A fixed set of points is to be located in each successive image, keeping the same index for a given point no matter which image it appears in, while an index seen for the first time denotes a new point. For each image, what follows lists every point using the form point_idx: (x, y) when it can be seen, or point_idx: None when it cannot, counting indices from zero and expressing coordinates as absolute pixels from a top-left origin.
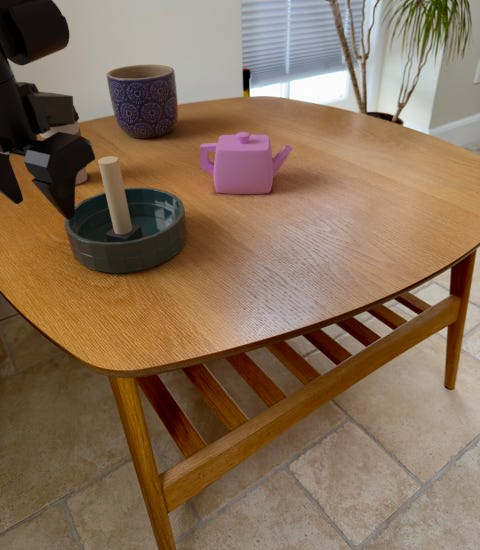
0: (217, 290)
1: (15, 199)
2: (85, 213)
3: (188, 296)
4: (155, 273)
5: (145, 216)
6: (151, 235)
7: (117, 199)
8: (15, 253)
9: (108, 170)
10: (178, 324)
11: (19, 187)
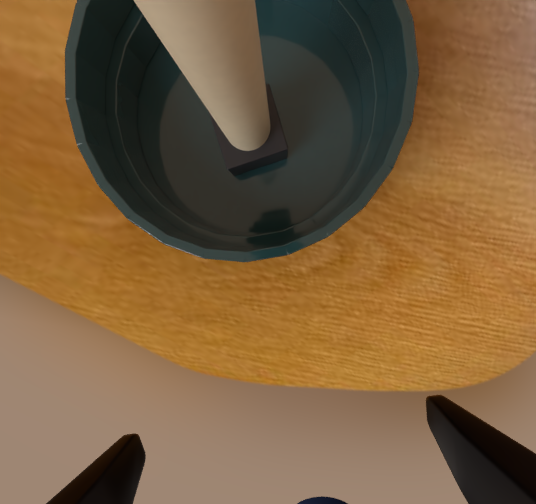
0: (532, 131)
1: (133, 477)
2: (106, 142)
3: (491, 182)
4: None
5: None
6: (401, 125)
7: (260, 91)
8: (95, 301)
9: (233, 6)
10: (527, 250)
11: (97, 486)
